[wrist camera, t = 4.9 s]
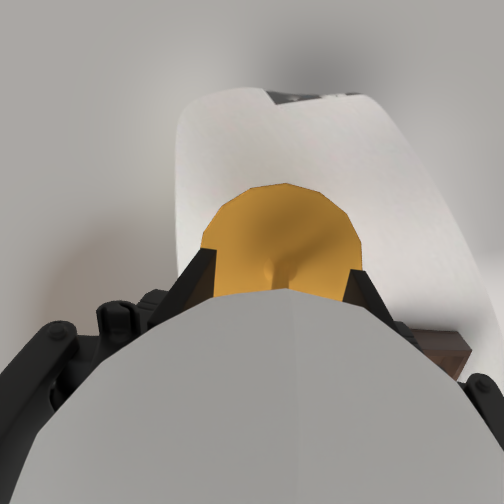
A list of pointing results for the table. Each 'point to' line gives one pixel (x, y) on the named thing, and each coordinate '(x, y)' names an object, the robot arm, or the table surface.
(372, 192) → the table surface
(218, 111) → the table surface
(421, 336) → the holder
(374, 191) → the table surface
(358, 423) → the cup
